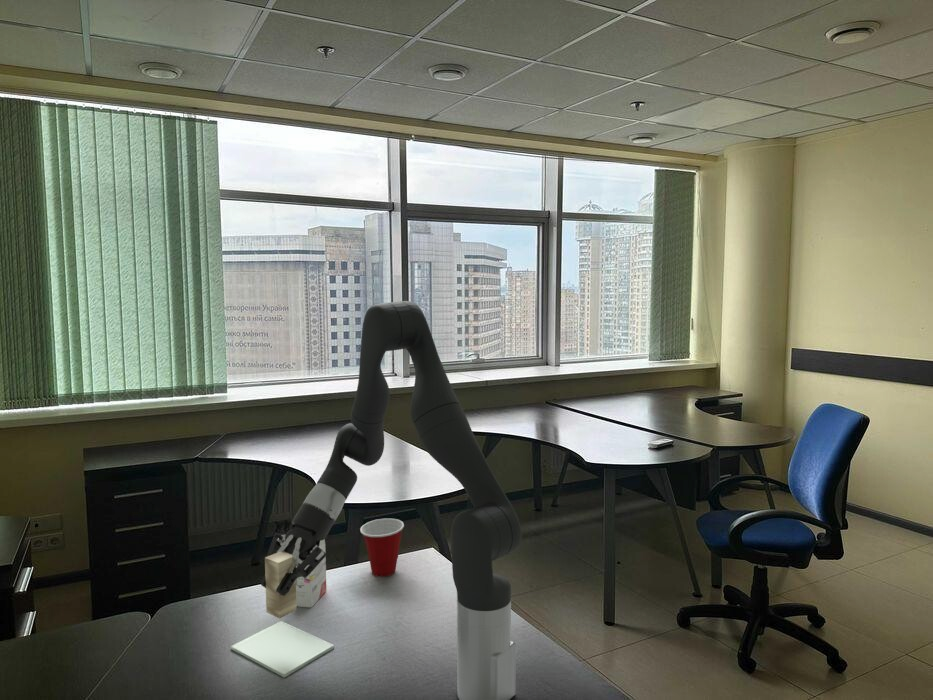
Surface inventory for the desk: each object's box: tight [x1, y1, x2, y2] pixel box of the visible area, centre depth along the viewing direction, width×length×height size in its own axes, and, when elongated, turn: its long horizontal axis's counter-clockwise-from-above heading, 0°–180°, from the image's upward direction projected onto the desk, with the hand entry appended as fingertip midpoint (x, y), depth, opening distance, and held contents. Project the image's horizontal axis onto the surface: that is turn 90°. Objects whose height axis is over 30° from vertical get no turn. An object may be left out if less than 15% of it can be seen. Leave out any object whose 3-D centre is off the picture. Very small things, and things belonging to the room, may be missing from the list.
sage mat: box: [230, 620, 335, 678], centre depth 127 cm, size 16×12×1 cm
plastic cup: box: [359, 518, 405, 578], centre depth 161 cm, size 11×11×12 cm
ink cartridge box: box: [296, 538, 327, 608], centre depth 147 cm, size 9×5×15 cm, turn 168°
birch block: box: [264, 552, 297, 619], centre depth 126 cm, size 4×4×11 cm
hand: (272, 590), depth 124 cm, fingers closed on birch block, 4 cm apart
